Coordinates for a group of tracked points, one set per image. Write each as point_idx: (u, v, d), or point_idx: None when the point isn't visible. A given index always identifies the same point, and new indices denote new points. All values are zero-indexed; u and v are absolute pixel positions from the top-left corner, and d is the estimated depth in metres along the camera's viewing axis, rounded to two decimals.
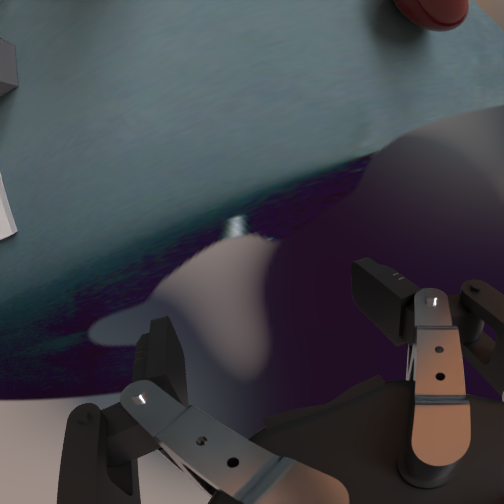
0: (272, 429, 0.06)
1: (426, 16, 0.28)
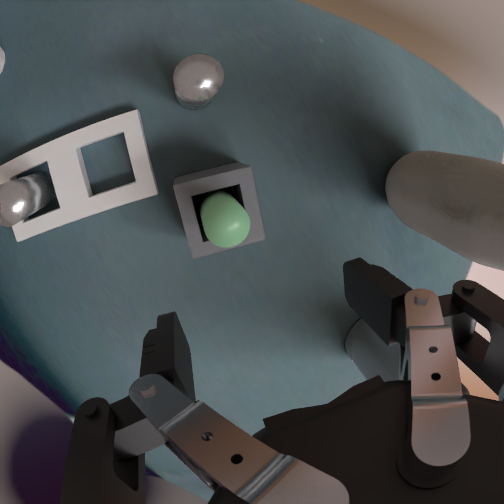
0: (272, 429, 0.06)
1: None
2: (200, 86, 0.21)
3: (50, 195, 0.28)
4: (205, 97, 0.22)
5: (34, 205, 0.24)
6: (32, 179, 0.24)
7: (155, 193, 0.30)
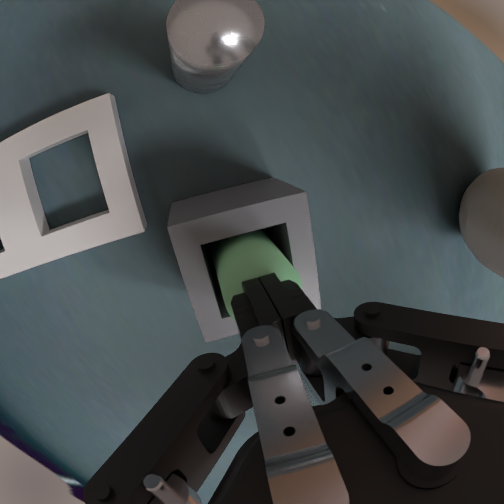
0: None
1: None
2: (219, 39, 0.10)
3: None
4: (229, 60, 0.10)
5: None
6: None
7: (141, 230, 0.18)
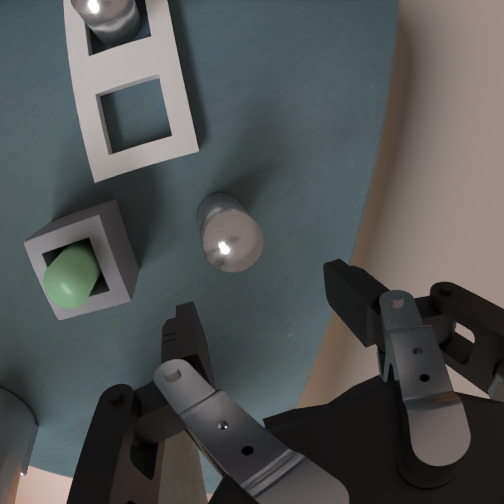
0: (272, 429, 0.06)
1: None
2: (220, 247, 0.20)
3: (107, 42, 0.19)
4: (206, 254, 0.20)
5: (93, 25, 0.15)
6: (129, 20, 0.16)
7: (95, 180, 0.22)
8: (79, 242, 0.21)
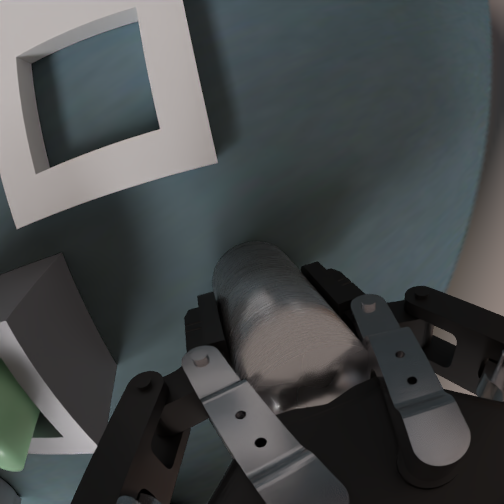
0: None
1: None
2: (286, 410, 0.08)
3: None
4: None
5: None
6: None
7: (17, 224, 0.10)
8: None
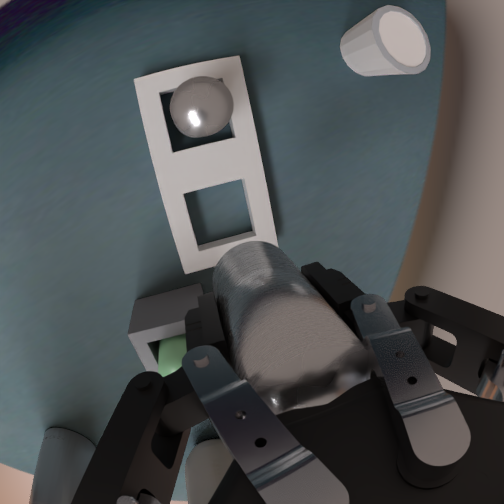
0: None
1: None
2: (286, 409, 0.08)
3: (188, 136, 0.24)
4: None
5: (187, 134, 0.20)
6: None
7: (186, 272, 0.28)
8: None
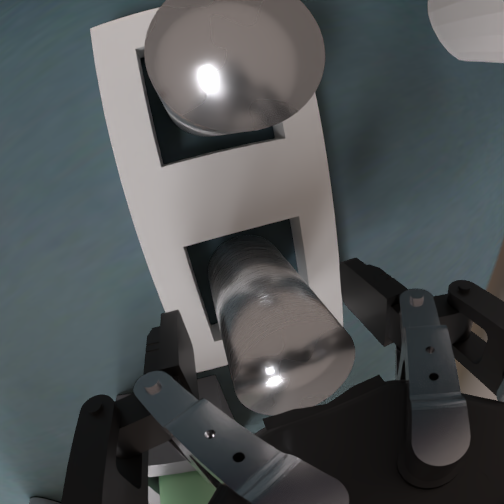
0: (271, 429, 0.06)
1: None
2: (270, 382, 0.09)
3: (193, 134, 0.12)
4: (240, 396, 0.09)
5: (193, 129, 0.08)
6: None
7: None
8: None
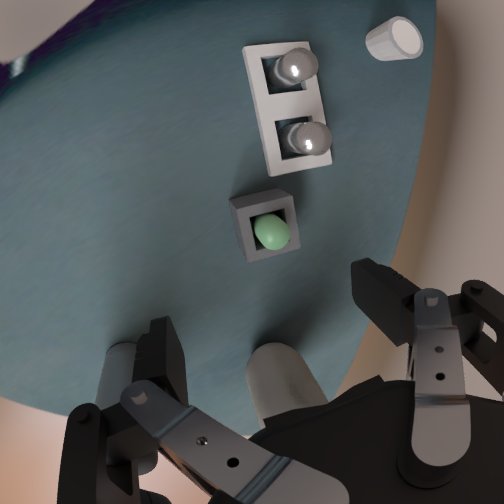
0: (272, 429, 0.06)
1: None
2: (309, 139, 0.33)
3: (277, 86, 0.36)
4: (301, 142, 0.33)
5: (287, 80, 0.32)
6: None
7: (272, 175, 0.40)
8: (268, 212, 0.38)
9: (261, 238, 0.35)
